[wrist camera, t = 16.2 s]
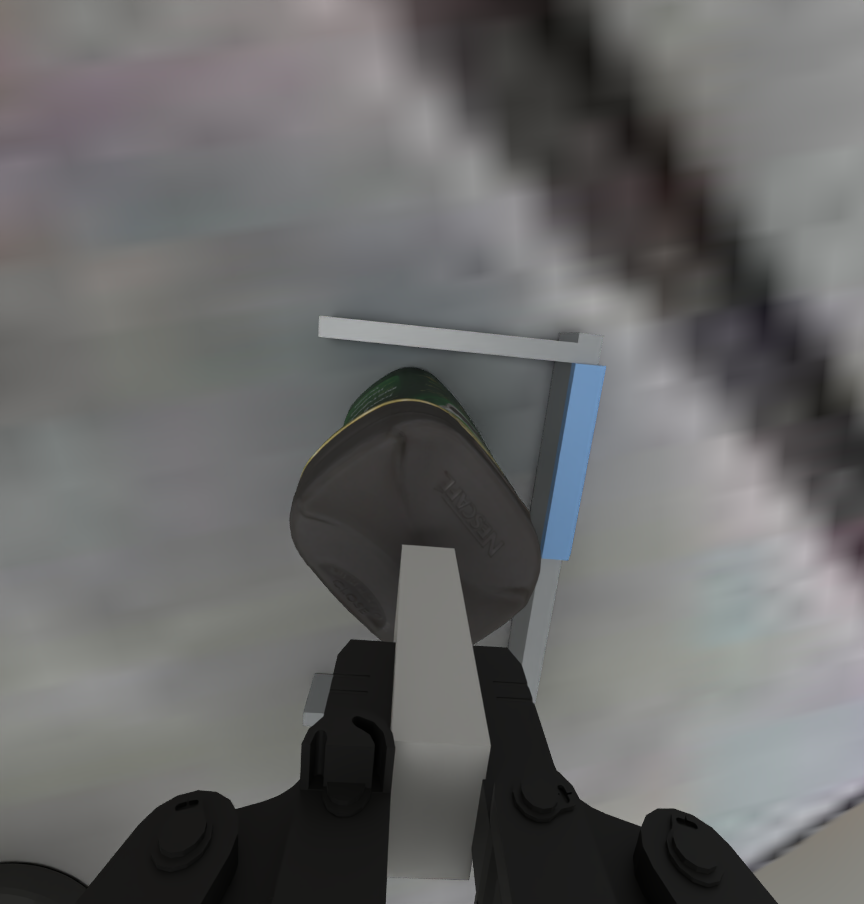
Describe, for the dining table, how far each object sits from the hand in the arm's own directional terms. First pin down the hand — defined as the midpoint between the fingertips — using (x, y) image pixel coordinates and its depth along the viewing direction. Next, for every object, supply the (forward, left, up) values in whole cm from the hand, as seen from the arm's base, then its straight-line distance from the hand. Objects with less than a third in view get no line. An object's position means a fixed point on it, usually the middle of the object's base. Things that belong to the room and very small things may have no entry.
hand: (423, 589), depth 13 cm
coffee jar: (0, 0, -21) cm, 21 cm away
